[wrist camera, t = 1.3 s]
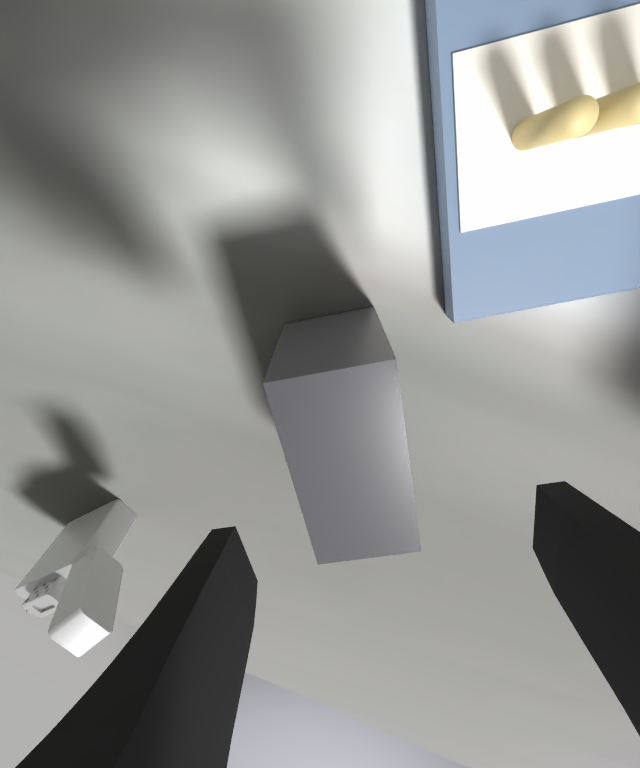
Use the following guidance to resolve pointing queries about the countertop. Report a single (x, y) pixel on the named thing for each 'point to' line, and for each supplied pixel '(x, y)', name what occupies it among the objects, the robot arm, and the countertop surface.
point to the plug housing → (344, 435)
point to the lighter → (80, 578)
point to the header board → (535, 150)
